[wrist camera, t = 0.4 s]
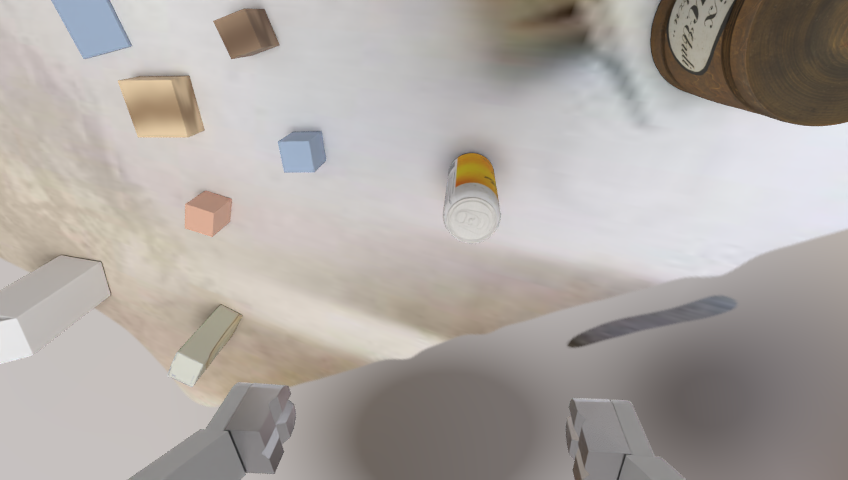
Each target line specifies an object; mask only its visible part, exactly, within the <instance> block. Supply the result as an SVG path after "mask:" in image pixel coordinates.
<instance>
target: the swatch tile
mask: <svg viewBox="0 0 848 480" xmlns="http://www.w3.org/2000/svg"><path fill="white" fill-rule="evenodd" d="M51 1H52V3H53V4H54V6H55V8H56V10H57V12H58V13H59V15H60V17H61V19H62V21H63V22H64V24H65V26H66V28H67V30H68V32H69V33H70V35H71V37H72V39H73V41H74V42H75V44H76V46H77V48H78V50H79V51H80V53H81V55H82V57H83V59H87V58H91V57H94V56H98V55H102V54H105V53H109V52H112V51H116V50H120V49H123V48H127V47H131V46H132V45H131V43H130V41H129V39H128V37H127V35H126V33H125V31H124V29H123V27H122V25H121V23H120V21H119V19H118V17H117V15H116V13H115V11H114V9H113V7H112V5H111V3H110V1H109V0H51Z"/></svg>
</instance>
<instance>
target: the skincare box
mask: <svg viewBox="0 0 848 480" xmlns="http://www.w3.org/2000/svg"><path fill="white" fill-rule="evenodd" d="M241 318H242V315H240V314H239V313H237V312H235V311H233V310H231V309H229V308H227V307H225V306H223V305H220V306H219V307H218V308H217V309H216V310H215V311H214V312H213V313H212V314H211V315H210V317H209V318H208V319H207V320H206V321H205V322H204V323H203V324H202V325H201V326H200V328H199V329H198V330H197V331H196V332H195V333H194V334H193V335H192V336H191V337H190V339H189V340H188V341H187V342H186V343H185V344H184V345H183V346H182V347H181V348H180V349H179V351H178V352H177V353H176V355H175V357H174V360H173V362H172V364H171V367H170V369H169V372H168V375H167V376H169V377H171V378H173V379H175V380H177V381H180V382H182V383H184V384H186V385H188V386H190V387H193V386H194V385H195V383H196V382H197V381H198V379H199V378H200V377H201V375H202V374H203V373H204V371H205V370H206V369H207V368H208V366H209V365H210V364H211V362H212V361H213V360H214V358H215V357H216V356H217V355H218V353H219V352H220V351H221V350H222V348H223V347H224V346H225V344H226V343H227V342H228V341H229V339H230V338H231V337H232V335H233V333H234V331H235V329H236V328H237V326H238V324H239V322H240V320H241Z"/></svg>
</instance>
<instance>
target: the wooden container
mask: <svg viewBox="0 0 848 480" xmlns="http://www.w3.org/2000/svg"><path fill="white" fill-rule="evenodd" d="M651 50H652V56H653V60H654V63H655V65H656V67H657V69H658V71H659V72H660V74H661V75H662V76H663V77H664V79H665V80H666V81H667V82H669V83H670V84H671V85H673V86H674V87H676V88H678V89H680V90H682V91H685V92H688V93H690V94H693V95H696V96H698V97H701V98H704V99H707V100H711V101H714V102H717V103H720V104H724V105H728V106H732V107H736V108H739V109H743V110H746V111H750V112H753V113H757V114H761V115H765V116H768V117H770V118H773V119H777V120H780V121H783V122H788V123H792V124H797V125H804V126H828V125H836V124H841V123H845V122H848V0H661V3H660V5H659V7H658V9H657V12H656V14H655V18H654V21H653V25H652V32H651Z"/></svg>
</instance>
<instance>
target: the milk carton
mask: <svg viewBox="0 0 848 480" xmlns="http://www.w3.org/2000/svg"><path fill="white" fill-rule="evenodd" d="M110 295H111V294H110V290H109V287H108V283H107V280H106V277H105V273H104V270H103V267H102V264H101V262H98V261H92V260H86V259H80V258H74V257H69V256H63V255H60V256H58V257H56V258H55V259H53V260H51V261H50V262H48V263H46V264H44V265H43V266H41V267H39V268H38V269H36V270H34V271H32V272H31V273H29V274H27V275H26V276H24V277H22V278H20V279H19V280H17V281H15V282H14V283H12V284H10V285H8V286H7V287H5V288H3V289H2V290H0V364H2V363H6V362H10V361H14V360H18V359H22V358H26V357H30V356H33V355H34V354H35V353H37V352H38V351H39V350H41V349H42V348H43V347H44V346H46V345H47V344H48V343H49V342H51V341H52V340H53V339H54V338H56V337H57V336H58V335H60V334H61V333H62V332H64V331H65V330H66V329H67V328H69V327H70V326H71V325H73V324H74V323H75V322H76V321H78V320H79V319H80V318H82V317H83V316H84V315H86V314H87V313H88V312H89V311H91V310H92V309H93V308H95V307H96V306H97V305H98V304H100V303H101V302H102V301H104V300H105V299H106V298H108V297H109V296H110Z"/></svg>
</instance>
